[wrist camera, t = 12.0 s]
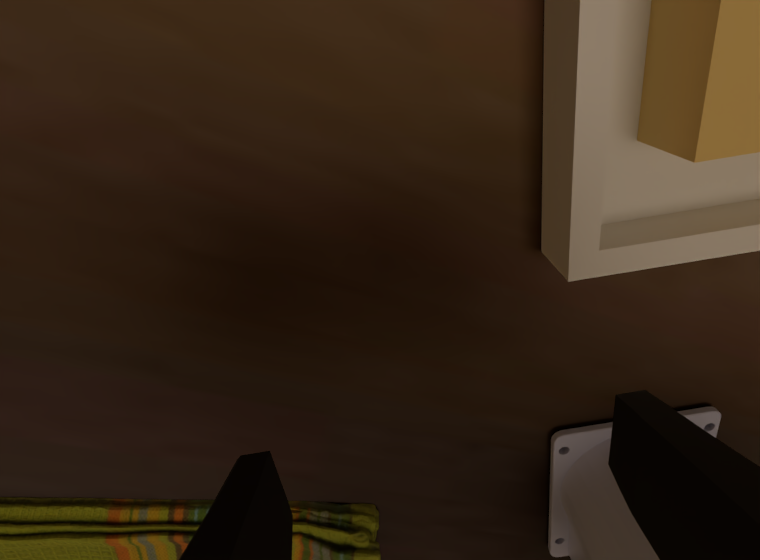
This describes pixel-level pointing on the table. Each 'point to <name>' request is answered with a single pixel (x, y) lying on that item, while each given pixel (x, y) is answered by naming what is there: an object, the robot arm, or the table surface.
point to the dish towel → (166, 529)
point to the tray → (625, 158)
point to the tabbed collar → (702, 79)
